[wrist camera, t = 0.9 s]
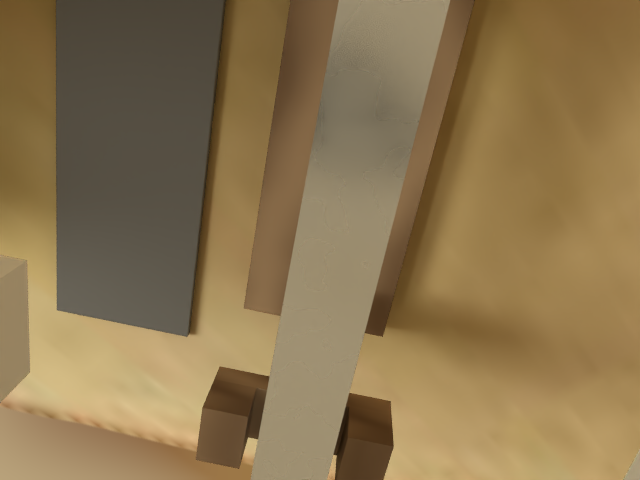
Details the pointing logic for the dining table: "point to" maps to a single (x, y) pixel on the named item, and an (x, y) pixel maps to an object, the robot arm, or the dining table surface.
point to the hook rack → (280, 230)
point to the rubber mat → (133, 155)
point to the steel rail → (344, 224)
